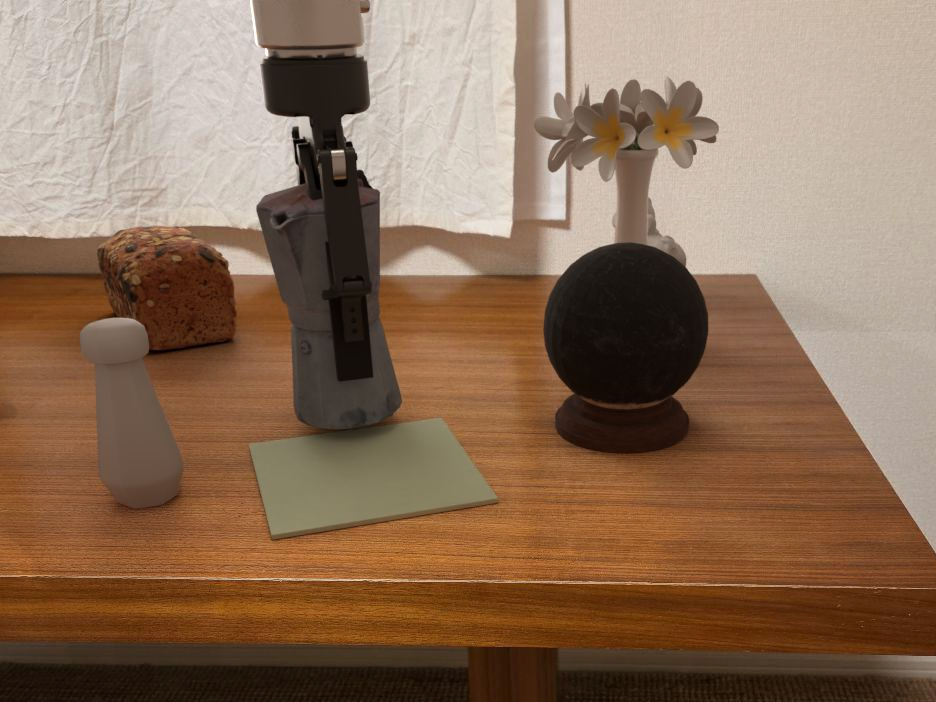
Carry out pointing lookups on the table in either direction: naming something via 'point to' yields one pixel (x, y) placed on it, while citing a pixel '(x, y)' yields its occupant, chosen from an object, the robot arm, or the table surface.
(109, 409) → the salt shaker
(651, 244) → the dog figurine
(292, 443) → the centre mat
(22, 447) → the table surface
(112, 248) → the bread
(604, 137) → the flower vase
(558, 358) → the black ball on stand
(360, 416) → the moka pot
